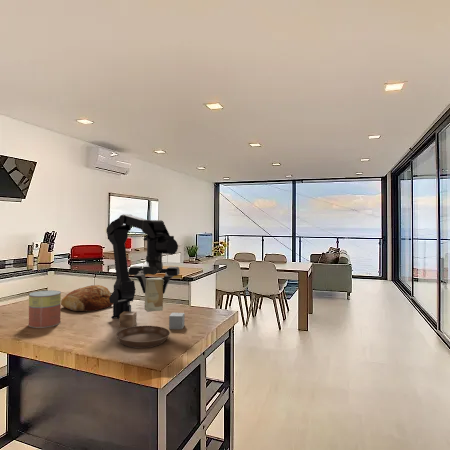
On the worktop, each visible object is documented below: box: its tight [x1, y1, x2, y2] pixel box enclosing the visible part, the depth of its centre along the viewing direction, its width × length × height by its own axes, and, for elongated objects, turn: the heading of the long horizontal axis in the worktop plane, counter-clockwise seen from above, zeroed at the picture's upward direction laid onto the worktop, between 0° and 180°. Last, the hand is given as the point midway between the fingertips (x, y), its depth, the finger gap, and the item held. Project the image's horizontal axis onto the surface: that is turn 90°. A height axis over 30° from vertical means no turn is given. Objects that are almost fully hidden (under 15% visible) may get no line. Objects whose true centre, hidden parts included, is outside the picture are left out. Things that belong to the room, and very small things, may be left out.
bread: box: [61, 284, 113, 312], centre depth 169 cm, size 20×18×10 cm
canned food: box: [27, 289, 62, 329], centre depth 142 cm, size 11×11×12 cm
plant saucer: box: [115, 325, 171, 349], centre depth 123 cm, size 18×18×3 cm
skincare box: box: [144, 277, 164, 313], centre depth 139 cm, size 6×4×12 cm
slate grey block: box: [168, 312, 186, 330], centre depth 139 cm, size 5×5×5 cm
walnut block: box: [119, 311, 137, 329], centre depth 140 cm, size 5×5×5 cm
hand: (154, 293), depth 139 cm, fingers closed on skincare box, 7 cm apart
